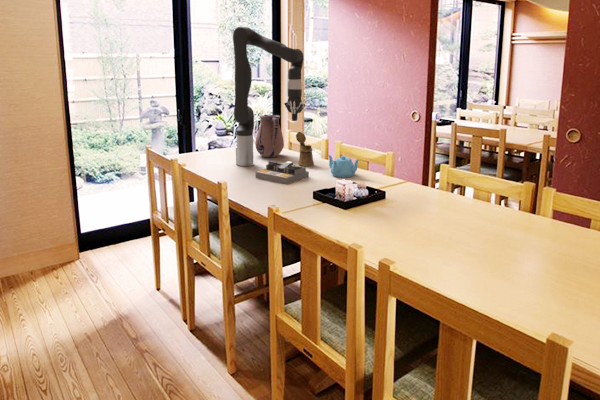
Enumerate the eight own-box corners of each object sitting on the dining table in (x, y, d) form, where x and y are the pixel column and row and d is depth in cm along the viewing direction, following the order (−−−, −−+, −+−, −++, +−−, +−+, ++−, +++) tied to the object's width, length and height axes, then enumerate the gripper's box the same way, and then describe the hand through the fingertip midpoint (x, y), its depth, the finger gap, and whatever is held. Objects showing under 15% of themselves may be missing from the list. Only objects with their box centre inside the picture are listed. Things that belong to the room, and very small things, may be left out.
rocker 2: (278, 170, 267) (278, 167, 267) (288, 163, 273) (287, 160, 272) (283, 171, 265) (283, 168, 265) (293, 164, 271) (292, 161, 270)
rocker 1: (268, 164, 271) (268, 161, 271) (277, 166, 277) (278, 163, 277) (273, 165, 269) (273, 162, 268) (282, 167, 275) (283, 164, 275)
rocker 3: (288, 168, 262) (288, 165, 262) (298, 169, 269) (298, 166, 269) (294, 169, 260) (294, 166, 260) (303, 170, 267) (303, 167, 267)
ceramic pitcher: (274, 152, 331) (274, 113, 324) (292, 157, 314) (292, 116, 307) (250, 155, 322) (249, 114, 315) (267, 161, 305) (266, 119, 298)
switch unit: (255, 177, 267) (255, 167, 266) (278, 171, 281) (277, 161, 279) (286, 184, 255) (286, 173, 253) (308, 177, 269) (308, 166, 267)
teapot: (353, 171, 281) (353, 153, 278) (360, 178, 267) (361, 158, 264) (326, 172, 279) (327, 154, 276) (332, 179, 265) (333, 159, 262)
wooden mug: (305, 161, 306) (305, 131, 301) (316, 165, 294) (317, 134, 289) (292, 162, 302) (292, 132, 297) (302, 167, 290) (303, 135, 285)
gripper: (280, 87, 273) (280, 120, 278) (300, 89, 266) (300, 122, 271) (289, 87, 279) (289, 119, 284) (308, 88, 271) (308, 121, 276)
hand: (294, 120), depth 277 cm, fingers closed
